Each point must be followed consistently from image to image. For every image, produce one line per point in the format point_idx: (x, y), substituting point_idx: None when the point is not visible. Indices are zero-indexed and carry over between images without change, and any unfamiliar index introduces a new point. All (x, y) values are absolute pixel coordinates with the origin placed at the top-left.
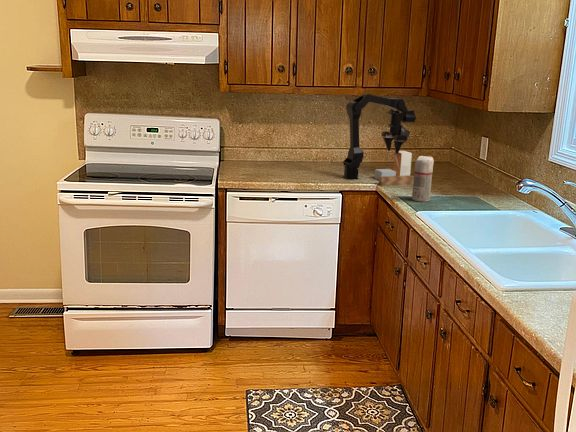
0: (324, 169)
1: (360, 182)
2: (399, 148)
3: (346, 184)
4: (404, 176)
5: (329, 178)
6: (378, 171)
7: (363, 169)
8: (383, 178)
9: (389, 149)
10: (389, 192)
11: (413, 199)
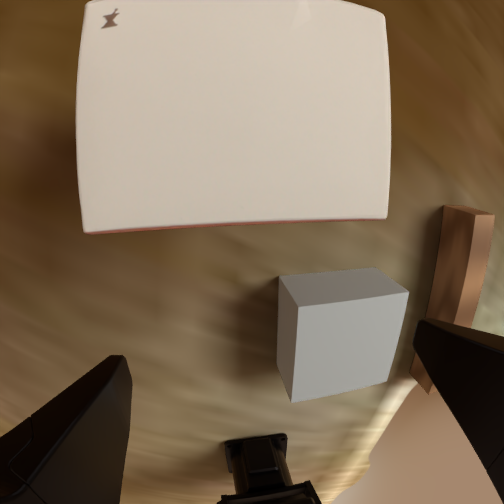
0: None
1: (348, 429)
2: (498, 347)
3: (357, 461)
4: (479, 271)
5: None
6: (339, 389)
7: (4, 326)
8: None
9: (124, 381)
10: None
11: None
